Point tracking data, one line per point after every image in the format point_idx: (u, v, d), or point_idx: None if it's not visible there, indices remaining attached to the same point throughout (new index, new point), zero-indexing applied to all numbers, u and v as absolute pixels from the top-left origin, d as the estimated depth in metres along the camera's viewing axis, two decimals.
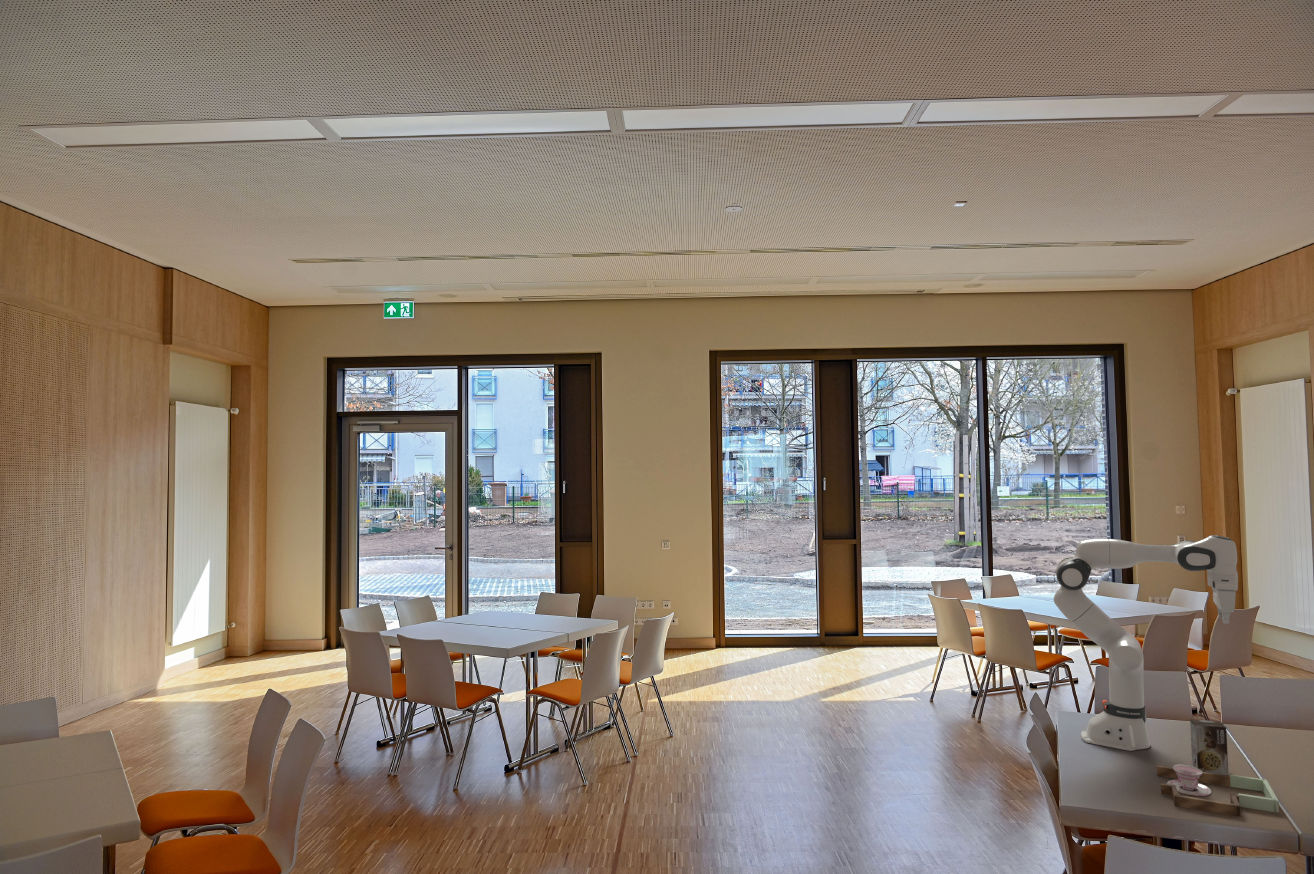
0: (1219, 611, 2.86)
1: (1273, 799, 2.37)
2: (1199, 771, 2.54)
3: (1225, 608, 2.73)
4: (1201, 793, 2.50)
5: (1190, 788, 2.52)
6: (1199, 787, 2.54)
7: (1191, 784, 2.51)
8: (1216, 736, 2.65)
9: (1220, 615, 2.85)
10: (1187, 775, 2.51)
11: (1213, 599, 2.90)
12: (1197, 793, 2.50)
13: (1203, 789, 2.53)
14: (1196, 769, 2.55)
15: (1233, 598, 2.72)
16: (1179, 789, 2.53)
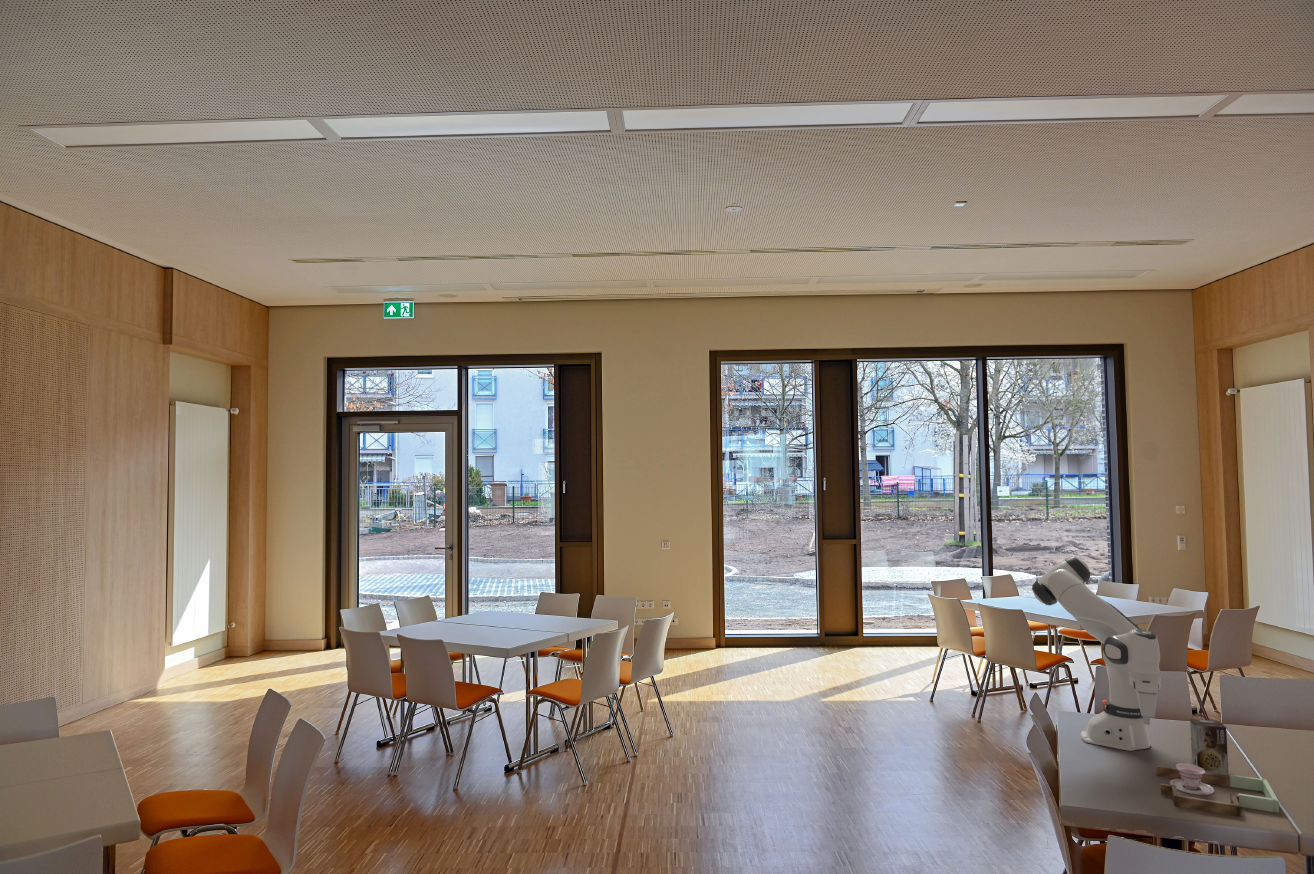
0: None
1: (1273, 799, 2.37)
2: (1202, 770, 2.54)
3: (1145, 713, 2.51)
4: (1204, 792, 2.51)
5: (1193, 787, 2.53)
6: (1202, 786, 2.55)
7: (1194, 783, 2.52)
8: (1216, 736, 2.65)
9: None
10: (1190, 774, 2.52)
11: None
12: (1200, 792, 2.51)
13: (1206, 788, 2.54)
14: (1199, 768, 2.56)
15: (1153, 702, 2.50)
16: (1182, 788, 2.54)
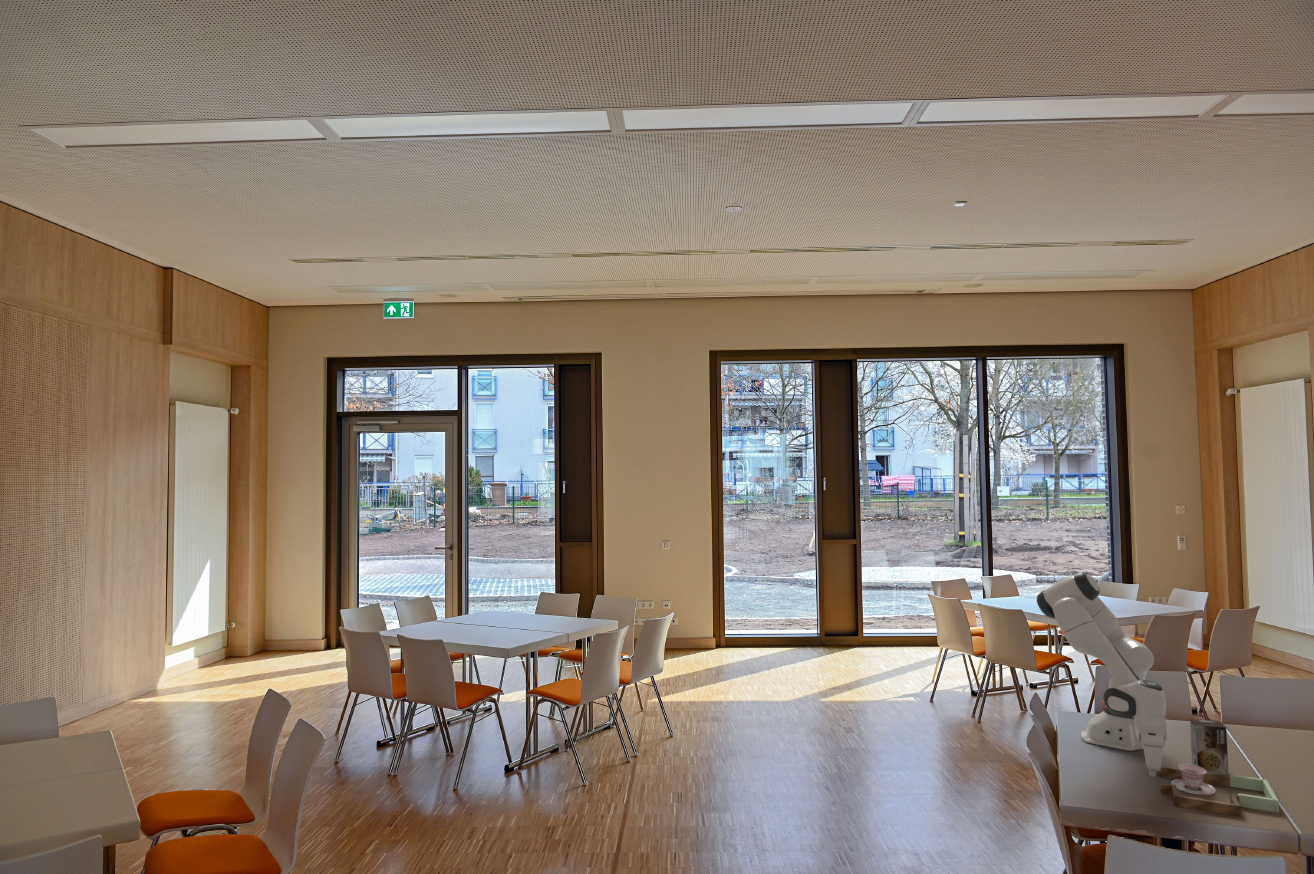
0: None
1: (1273, 799, 2.37)
2: (1203, 770, 2.54)
3: (1150, 766, 2.50)
4: (1206, 792, 2.51)
5: (1195, 787, 2.53)
6: (1203, 786, 2.55)
7: (1196, 783, 2.52)
8: (1216, 736, 2.65)
9: None
10: (1192, 774, 2.52)
11: None
12: (1202, 792, 2.51)
13: (1207, 788, 2.54)
14: (1200, 768, 2.56)
15: (1159, 756, 2.49)
16: (1184, 788, 2.54)
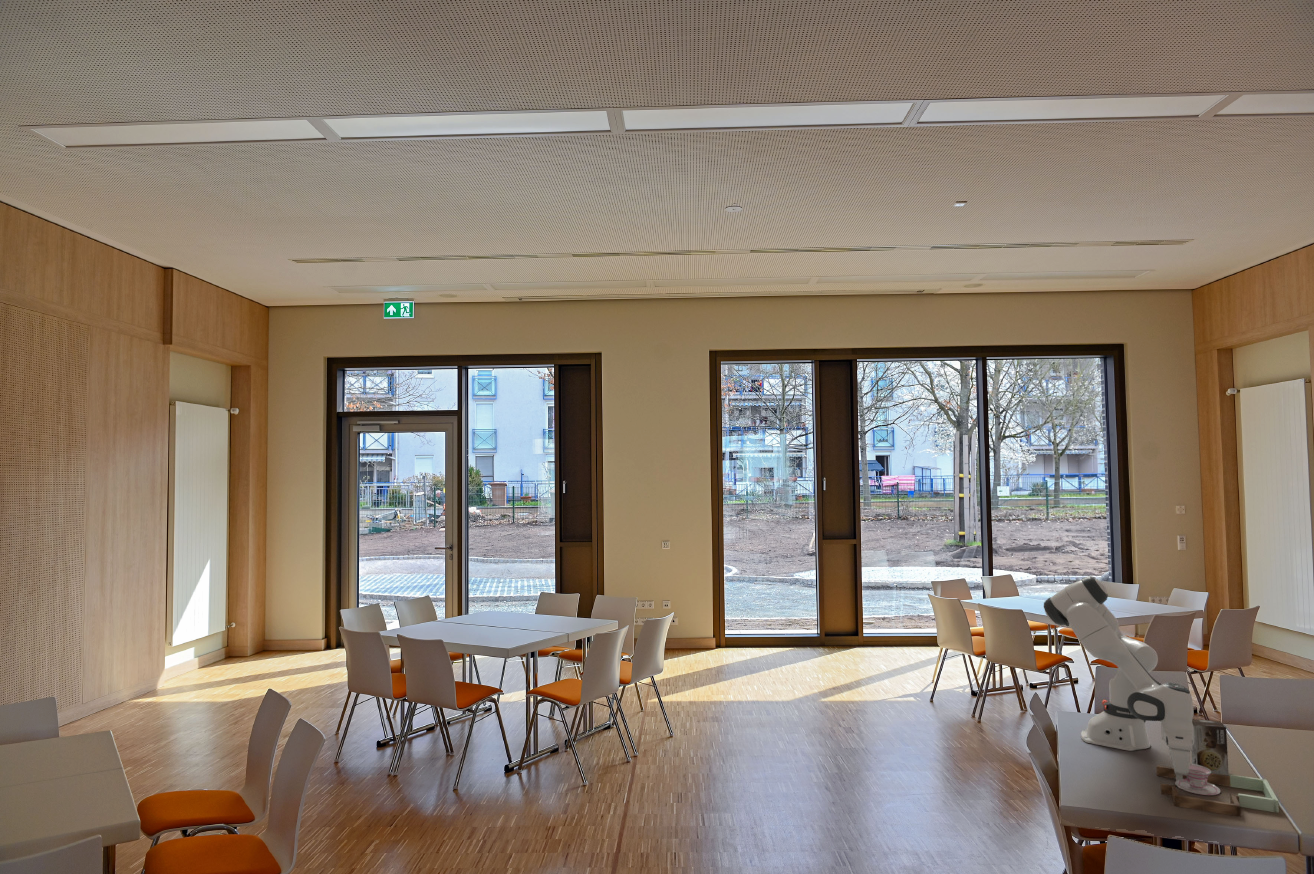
0: None
1: (1273, 799, 2.37)
2: (1208, 770, 2.54)
3: (1178, 771, 2.47)
4: (1210, 792, 2.50)
5: (1199, 787, 2.52)
6: (1208, 786, 2.55)
7: (1201, 783, 2.51)
8: (1216, 736, 2.65)
9: None
10: (1196, 774, 2.51)
11: (1169, 750, 2.63)
12: (1206, 792, 2.50)
13: (1212, 788, 2.53)
14: (1205, 768, 2.55)
15: (1187, 760, 2.46)
16: (1188, 788, 2.53)
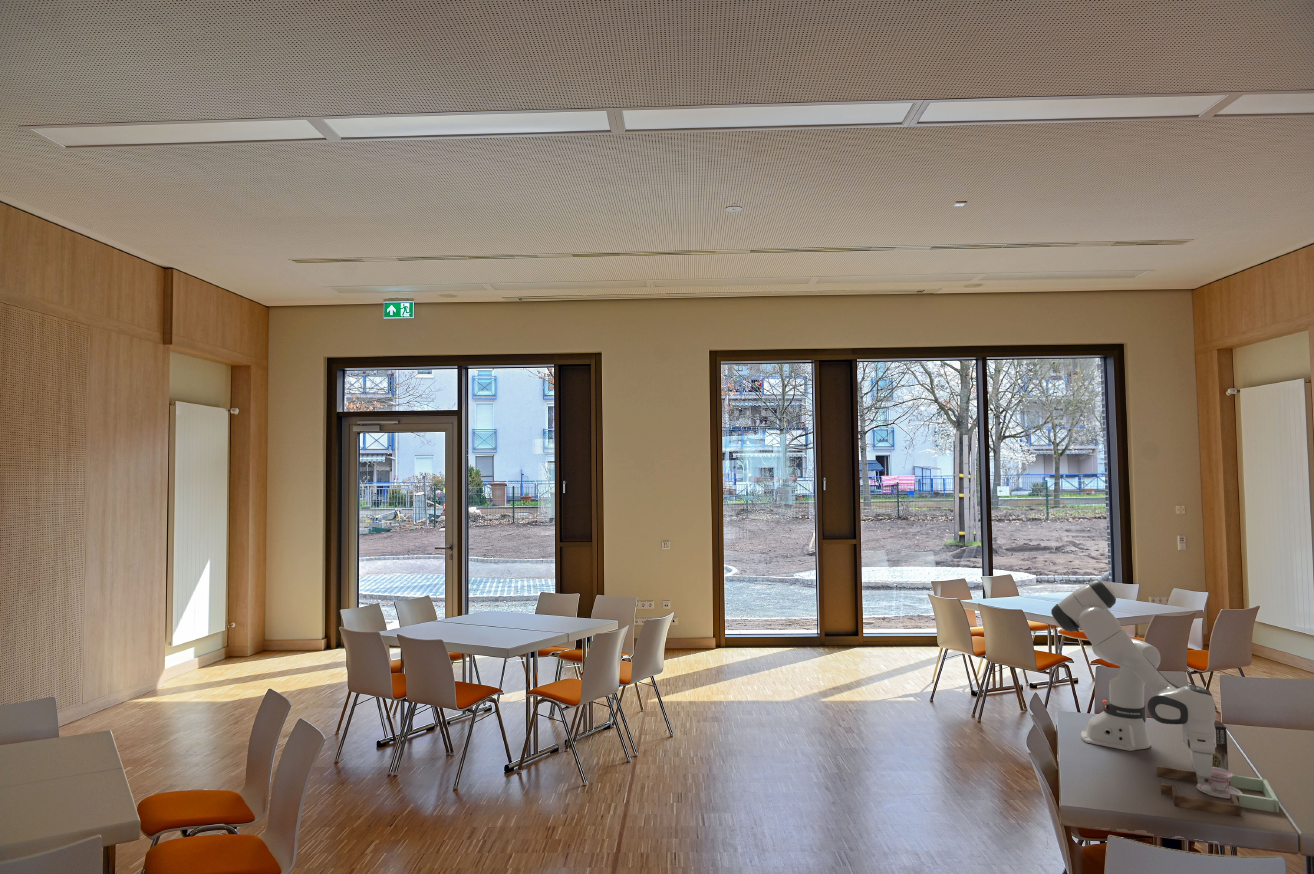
0: None
1: (1273, 799, 2.37)
2: (1230, 774, 2.51)
3: (1200, 774, 2.44)
4: None
5: (1221, 791, 2.49)
6: (1230, 790, 2.52)
7: (1222, 787, 2.49)
8: (1216, 736, 2.65)
9: None
10: (1218, 777, 2.48)
11: (1190, 753, 2.61)
12: (1228, 796, 2.47)
13: (1234, 792, 2.50)
14: (1227, 771, 2.52)
15: (1210, 763, 2.43)
16: (1209, 791, 2.51)
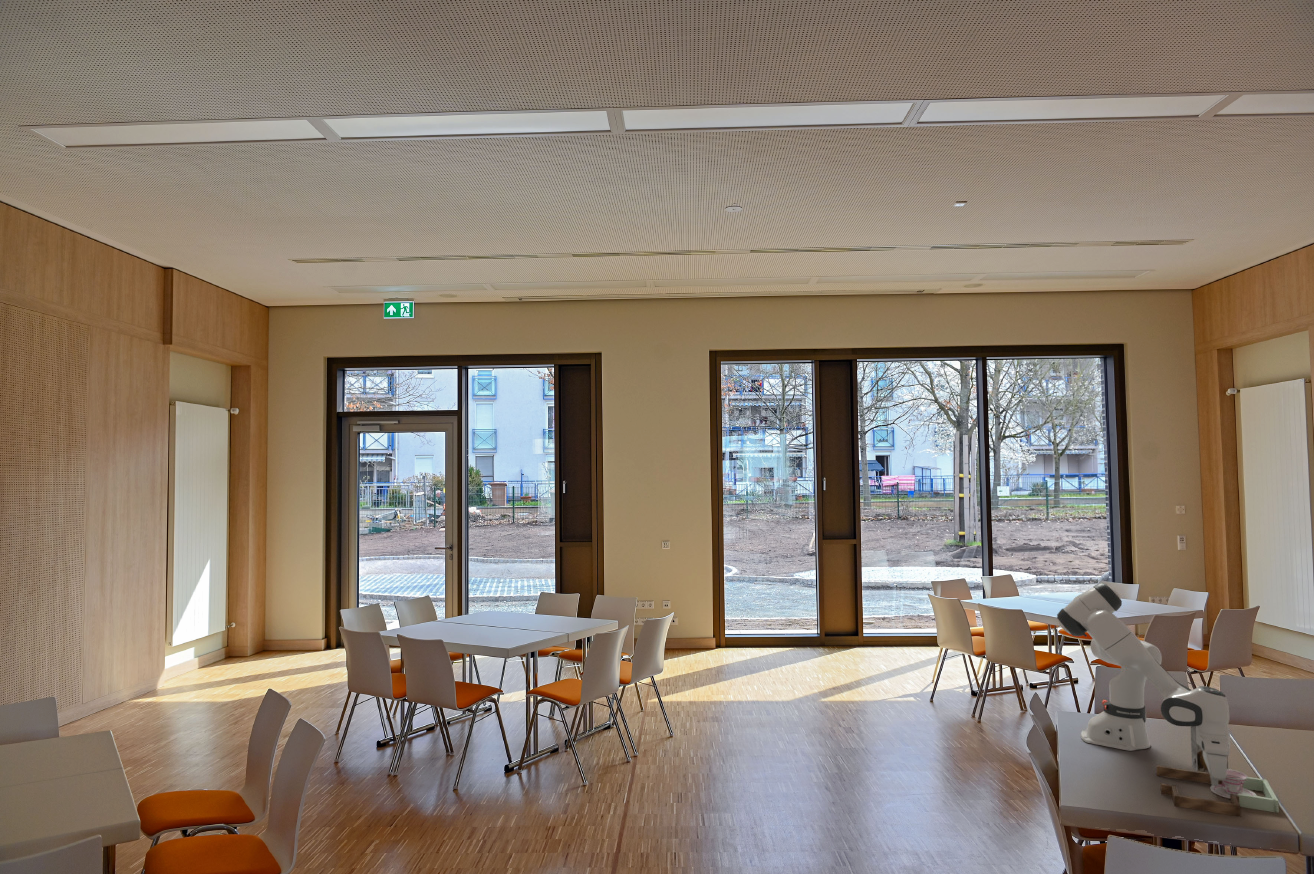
0: None
1: (1273, 799, 2.37)
2: (1244, 776, 2.49)
3: (1215, 776, 2.42)
4: None
5: (1234, 793, 2.48)
6: (1244, 792, 2.50)
7: (1236, 789, 2.47)
8: None
9: None
10: (1231, 779, 2.47)
11: (1203, 755, 2.59)
12: None
13: (1248, 794, 2.48)
14: (1241, 774, 2.50)
15: (1224, 765, 2.42)
16: (1223, 793, 2.49)
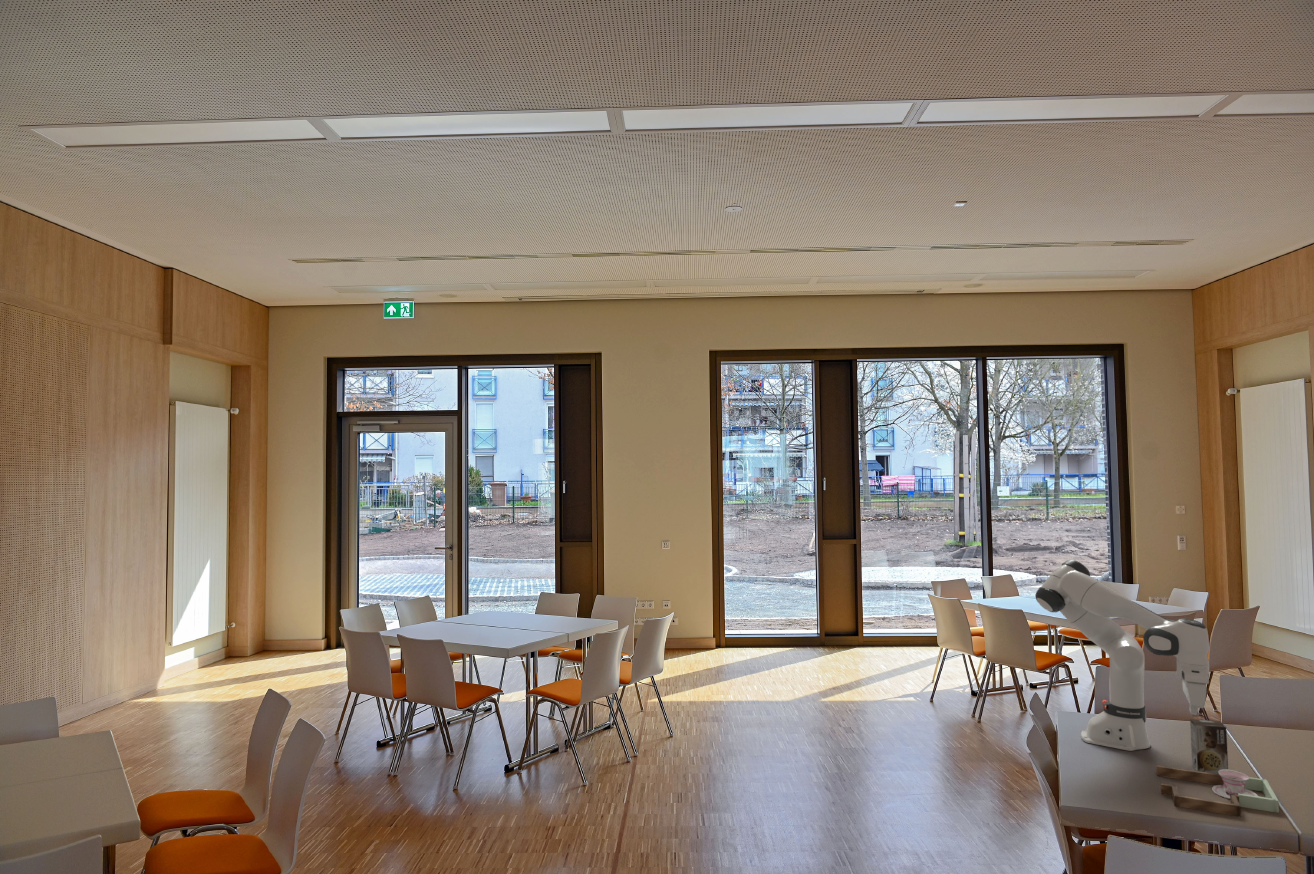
0: (1190, 705, 2.57)
1: (1273, 799, 2.37)
2: (1246, 776, 2.49)
3: (1194, 704, 2.47)
4: None
5: (1236, 794, 2.47)
6: (1246, 793, 2.50)
7: (1238, 790, 2.47)
8: (1216, 736, 2.65)
9: None
10: (1233, 780, 2.47)
11: None
12: None
13: None
14: (1243, 774, 2.50)
15: (1204, 692, 2.47)
16: (1225, 794, 2.49)
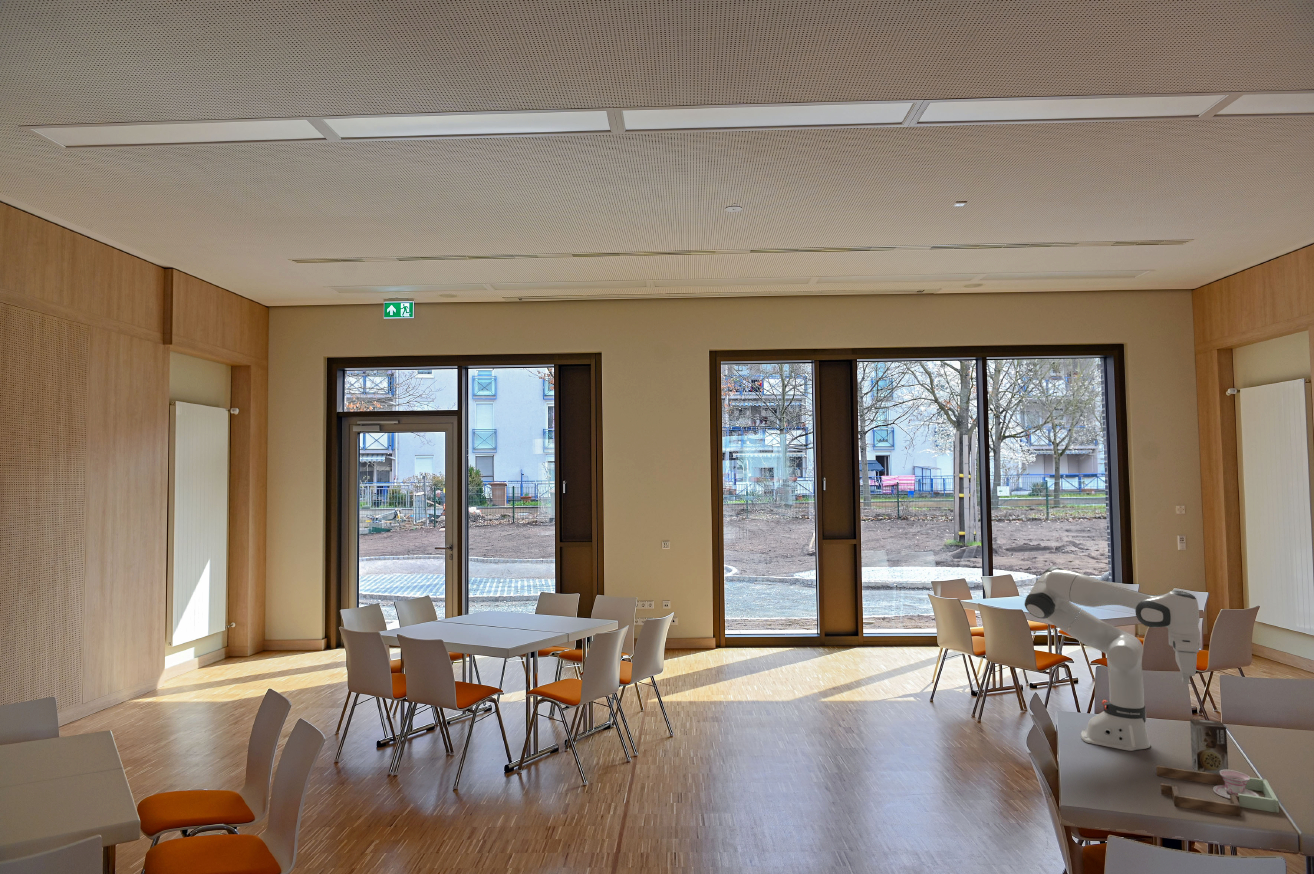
0: None
1: (1273, 799, 2.37)
2: (1247, 777, 2.49)
3: (1185, 672, 2.55)
4: None
5: (1237, 794, 2.47)
6: (1247, 793, 2.49)
7: (1239, 790, 2.47)
8: (1216, 736, 2.65)
9: None
10: (1234, 780, 2.46)
11: None
12: None
13: None
14: (1244, 775, 2.50)
15: (1194, 661, 2.54)
16: (1226, 794, 2.49)
